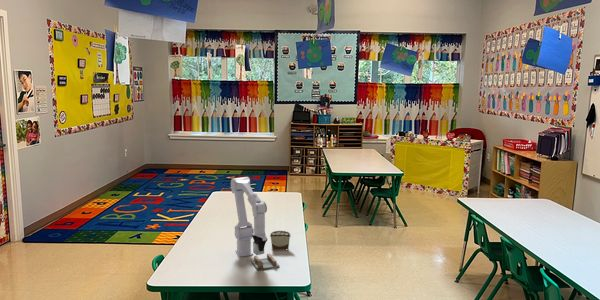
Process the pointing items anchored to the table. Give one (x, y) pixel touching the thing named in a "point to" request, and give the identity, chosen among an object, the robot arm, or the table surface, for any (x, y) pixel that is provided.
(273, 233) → the food container
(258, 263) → the slot seat
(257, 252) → the steel block
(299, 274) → the table surface
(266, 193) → the table surface
